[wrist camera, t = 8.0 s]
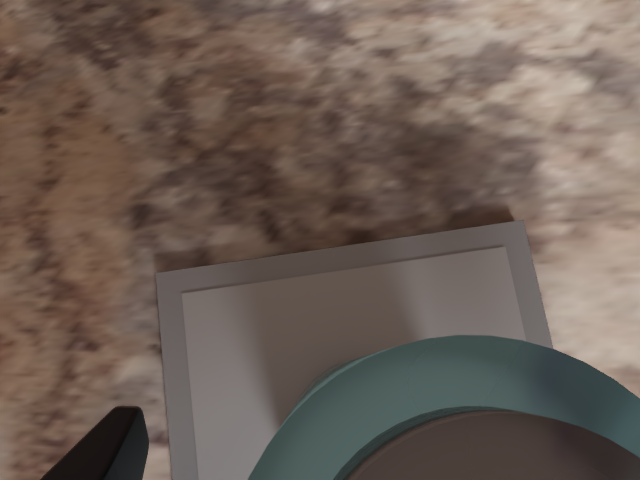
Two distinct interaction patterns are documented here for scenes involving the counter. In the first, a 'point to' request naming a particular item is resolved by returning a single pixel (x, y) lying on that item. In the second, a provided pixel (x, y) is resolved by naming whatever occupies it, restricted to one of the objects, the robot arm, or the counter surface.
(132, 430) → the robot arm
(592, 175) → the counter surface
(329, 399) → the bottle
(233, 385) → the coaster
